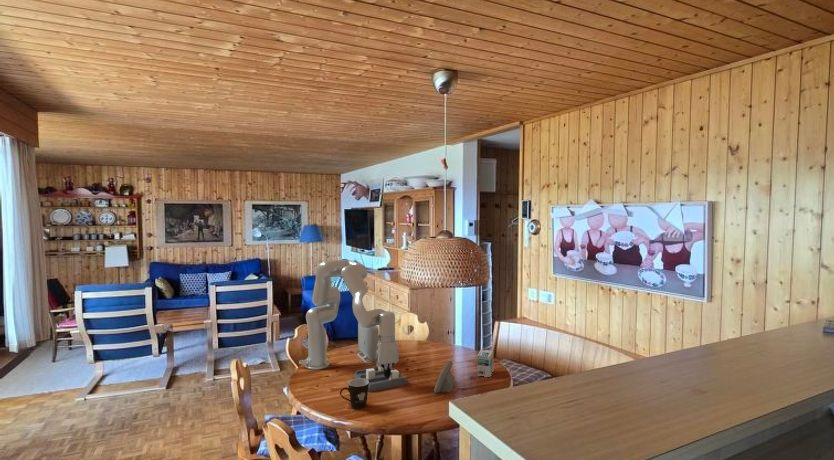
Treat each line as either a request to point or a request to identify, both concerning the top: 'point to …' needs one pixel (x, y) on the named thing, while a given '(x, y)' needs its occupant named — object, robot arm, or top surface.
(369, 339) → the network device
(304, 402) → the top surface
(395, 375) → the near tab
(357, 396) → the coffee mug
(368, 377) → the middle tab
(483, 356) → the light bulb box
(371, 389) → the switch panel
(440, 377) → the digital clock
